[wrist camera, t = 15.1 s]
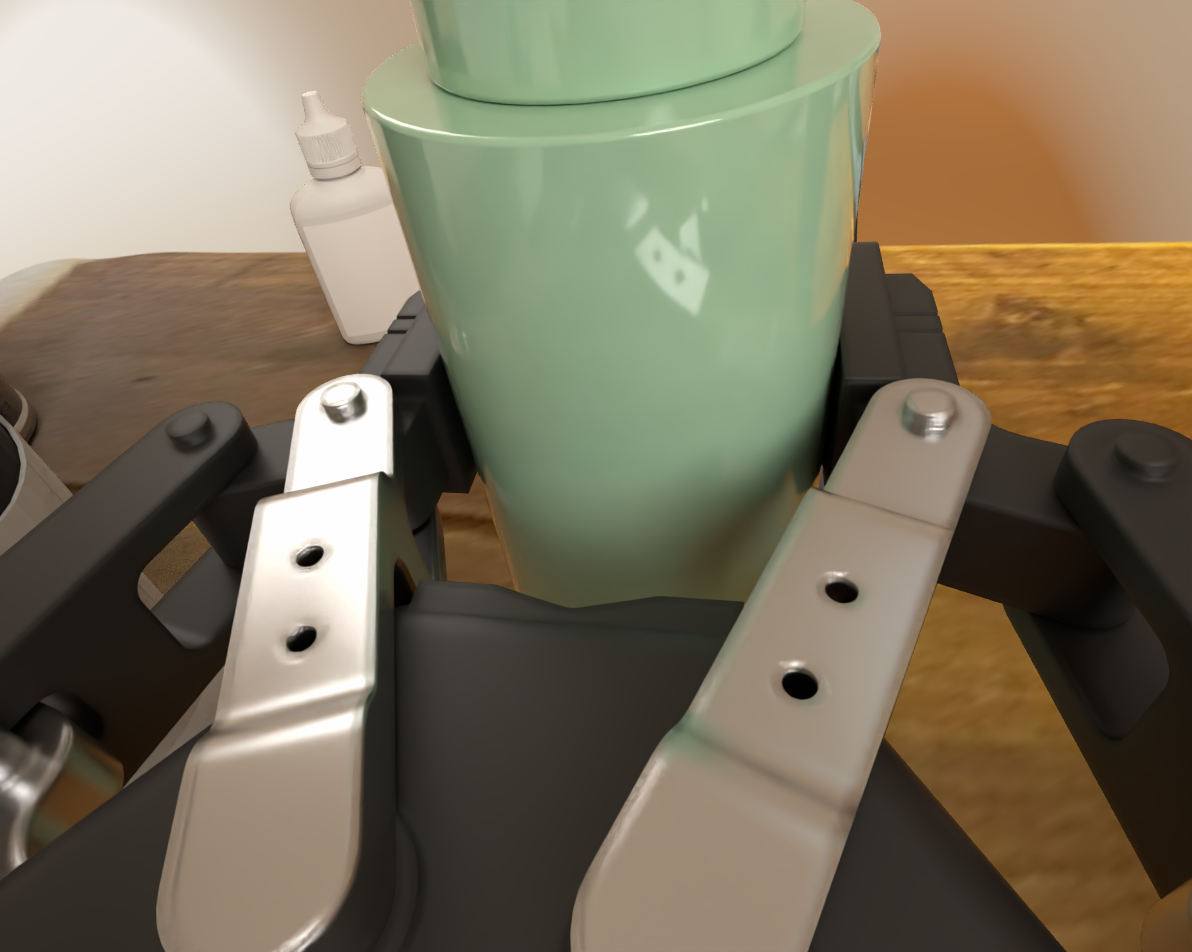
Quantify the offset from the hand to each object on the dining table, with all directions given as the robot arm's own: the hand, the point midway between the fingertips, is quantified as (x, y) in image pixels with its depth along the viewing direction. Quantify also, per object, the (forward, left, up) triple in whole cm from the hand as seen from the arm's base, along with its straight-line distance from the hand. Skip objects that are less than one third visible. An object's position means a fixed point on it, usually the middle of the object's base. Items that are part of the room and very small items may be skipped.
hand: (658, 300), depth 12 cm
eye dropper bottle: (-18, +22, -15) cm, 32 cm away
